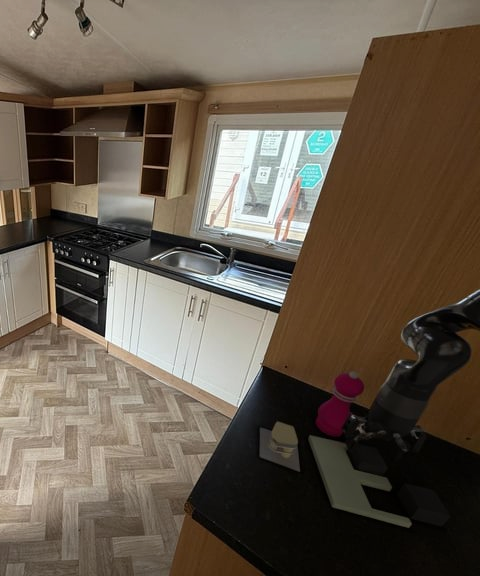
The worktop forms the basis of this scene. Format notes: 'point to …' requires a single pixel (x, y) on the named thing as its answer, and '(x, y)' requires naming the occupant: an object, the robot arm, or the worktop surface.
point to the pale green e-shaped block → (349, 481)
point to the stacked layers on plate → (280, 445)
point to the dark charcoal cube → (367, 460)
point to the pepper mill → (339, 404)
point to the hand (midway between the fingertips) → (370, 453)
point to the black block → (423, 504)
